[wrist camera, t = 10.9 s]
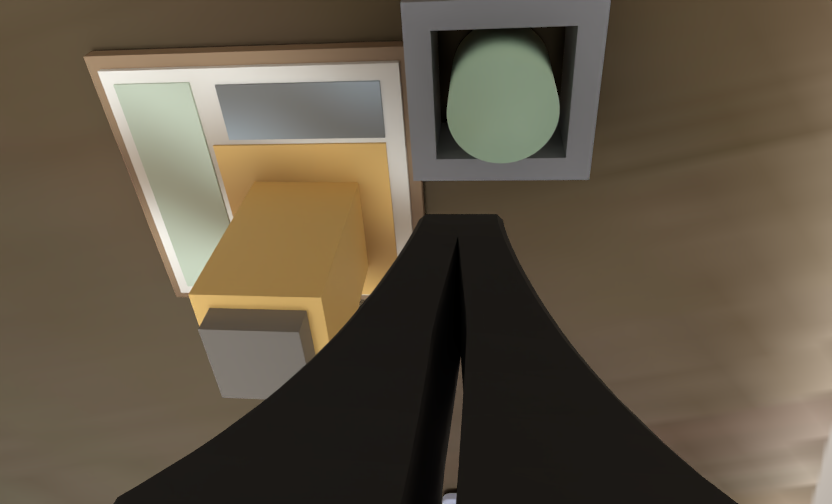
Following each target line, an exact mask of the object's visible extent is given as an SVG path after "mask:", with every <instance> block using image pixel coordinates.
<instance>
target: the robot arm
mask: <svg viewBox="0 0 832 504" xmlns="http://www.w3.org/2000/svg"><path fill="white" fill-rule="evenodd" d="M460 357H461V365H462V379H463V409H462V425H461V440H460V455H459V470H458V483H457V493H448V494H445V495H444V496H443V498H442V489H443V479H444V469H445V462H446V455H447V448H448V441H449V434H450V427H451V420H452V413H453V406H454V400H455V393H456V386H457V379H458V372H459V365H460ZM114 504H738V503H736V502H735V501H734V500H732V499H731V498H730V497H728V496H727V495H726V494H725V493H723V492H722V491H721V490H719V489H718V488H717V487H715V486H714V485H713V484H711V483H710V482H709V481H707V480H706V479H705V478H704V477H702V476H701V475H700V474H699V473H698V472H696V471H695V470H694V469H693V468H692V467H691V466H689V465H688V464H687V463H686V462H685V461H684V460H683V459H681V458H680V457H679V456H678V455H677V454H676V453H675V452H673V451H672V450H671V449H670V448H669V447H668V446H667V445H665V444H664V443H663V442H662V441H661V440H660V439H659V438H658V437H657V436H656V435H655V434H654V433H653V432H652V431H651V430H650V429H649V428H648V427H647V426H646V425H645V424H644V423H643V422H642V421H641V420H640V419H639V418H638V417H637V416H636V415H635V414H633V413H632V412H631V411H630V410H629V409H628V408H627V407H626V406H625V405H624V404H623V403H622V402H621V401H620V400H619V399H618V398H617V397H616V396H615V395H614V394H613V392H612V391H611V390H610V389H609V388H608V387H607V386H606V385H605V384H604V382H603V381H602V380H601V379H600V378H599V377H598V376H597V375H596V374H595V372H594V371H593V370H592V369H591V368H590V367H589V365H588V364H587V363H586V362H585V360H584V359H583V358H582V357H581V356H580V354H579V353H578V352H577V351H576V349H575V348H574V347H573V346H572V344H571V343H570V342H569V340H568V339H567V338H566V336H565V335H564V334H563V332H562V331H561V330H560V328H559V327H558V325H557V324H556V322H555V321H554V319H553V318H552V316H551V315H550V314H549V312H548V311H547V309H546V308H545V306H544V304H543V303H542V301H541V300H540V298H539V297H538V295H537V293H536V291H535V290H534V288H533V286H532V285H531V283H530V281H529V279H528V278H527V276H526V274H525V272H524V271H523V269H522V267H521V265H520V263H519V261H518V259H517V257H516V255H515V252H514V250H513V248H512V246H511V244H510V241H509V239H508V236H507V233H506V230H505V227H504V223H503V220H502V219H501V218H500V217H499V216H498V215H497V214H425V215H424V216H423V217H422V218H421V219H419V221H418V223H417V225H416V227H415V229H414V230H413V232H412V234H411V236H410V238H409V239H408V241H407V242H406V244H405V246H404V247H403V249H402V250H401V252H400V254H399V255H398V257H397V258H396V260H395V261H394V263H393V264H392V265H391V267H390V268H389V270H388V271H387V272H386V274H385V275H384V277H383V278H382V279H381V281H380V282H379V284H378V285H377V286H376V288H375V289H374V290H373V291H372V293H371V294H370V295H369V296H368V298H367V299H366V300H365V301H364V302H363V304H362V305H361V306H360V307H359V309H358V310H357V311H356V312H355V313H354V315H353V316H352V317H351V318H350V319H349V321H348V322H347V323H346V324H345V325H344V326H343V327H342V328H341V329H340V331H339V332H338V333H337V334H336V335H335V336H334V337H333V338H332V339H331V340H330V341H329V342H328V343H327V344H326V345H325V346H324V347H323V348H322V349H321V350H320V351H319V352H318V353H317V354H316V355H315V356H314V357H313V358H312V359H311V360H310V361H309V362H308V363H307V364H306V365H305V366H304V367H302V368H301V369H300V370H299V371H298V372H297V373H296V374H295V375H293V376H292V377H291V378H290V379H289V380H288V381H287V382H286V383H285V384H283V385H282V386H281V387H280V388H279V389H278V390H276V391H275V392H274V393H273V394H272V395H270V396H269V397H268V398H267V399H266V400H264V401H263V402H262V403H261V404H259V405H258V406H257V407H255V408H254V409H253V410H251V411H250V412H249V413H247V414H246V415H245V416H243V417H242V418H240V419H239V420H238V421H236V422H235V423H234V424H232V425H231V426H230V427H228V428H227V429H226V430H224V431H223V432H222V433H220V434H219V435H217V436H216V437H214V438H213V439H212V440H210V441H209V442H207V443H206V444H204V445H203V446H201V447H200V448H198V449H197V450H195V451H194V452H192V453H190V454H189V455H187V456H186V457H184V458H182V459H181V460H179V461H177V462H176V463H174V464H172V465H171V466H169V467H168V468H166V469H164V470H163V471H161V472H159V473H158V474H156V475H154V476H153V477H151V478H150V479H148V480H146V481H145V482H143V483H141V484H140V485H138V486H136V487H135V488H133V489H131V490H130V491H128V492H126V493H124V494H123V495H121V496H119V497H118V498H117V499H116V501H115V502H114Z"/></svg>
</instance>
